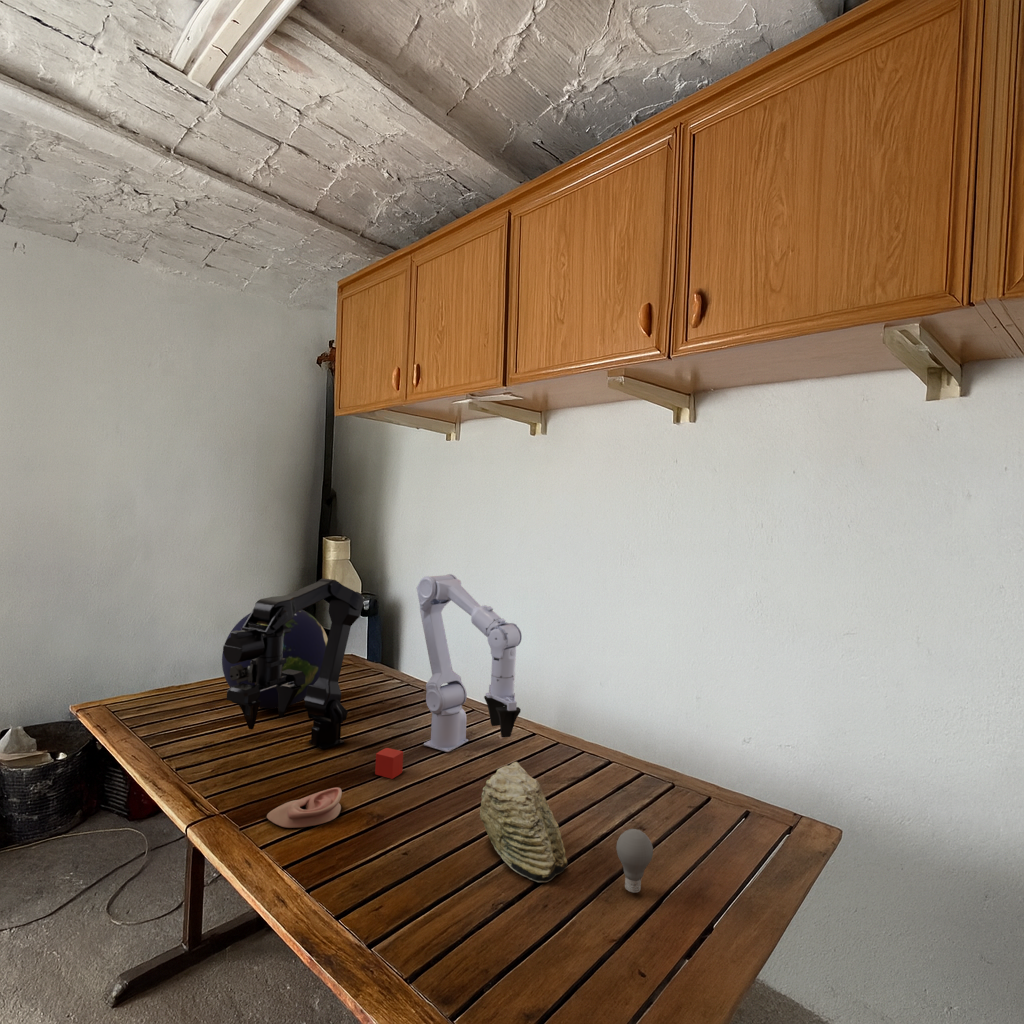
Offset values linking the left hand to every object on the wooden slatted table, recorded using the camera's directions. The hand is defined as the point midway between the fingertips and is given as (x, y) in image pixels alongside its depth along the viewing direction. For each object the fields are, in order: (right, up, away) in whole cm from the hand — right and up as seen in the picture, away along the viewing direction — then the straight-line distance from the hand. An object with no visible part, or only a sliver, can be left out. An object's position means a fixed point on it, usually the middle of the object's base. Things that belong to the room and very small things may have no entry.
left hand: (266, 722), depth 144 cm
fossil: (+57, -14, -30) cm, 66 cm away
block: (+27, -12, +2) cm, 30 cm away
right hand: (+53, -5, +8) cm, 54 cm away
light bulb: (+76, -15, -39) cm, 87 cm away
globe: (-14, -10, +44) cm, 47 cm away
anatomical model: (+15, -12, -19) cm, 27 cm away
